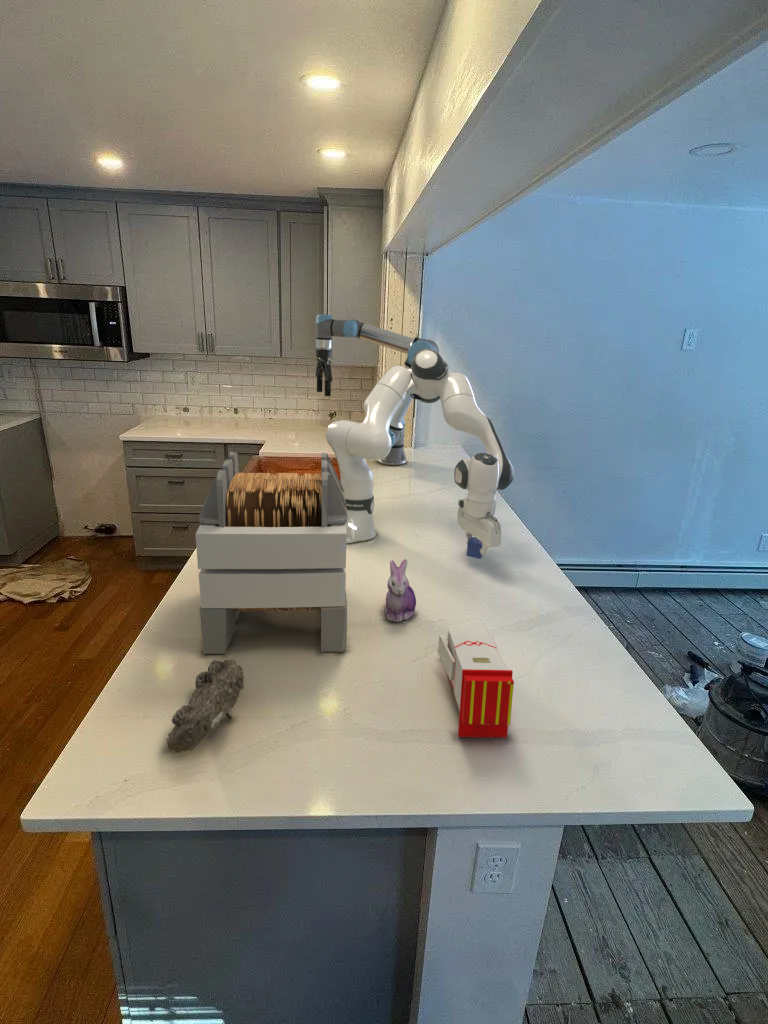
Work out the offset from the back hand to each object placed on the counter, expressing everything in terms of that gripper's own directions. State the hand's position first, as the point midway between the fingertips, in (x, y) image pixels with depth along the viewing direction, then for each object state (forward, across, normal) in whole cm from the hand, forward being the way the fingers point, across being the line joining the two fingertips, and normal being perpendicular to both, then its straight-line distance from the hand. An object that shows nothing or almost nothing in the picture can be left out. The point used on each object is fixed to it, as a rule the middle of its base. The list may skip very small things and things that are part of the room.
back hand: (323, 394), depth 277 cm
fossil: (+34, -176, +75) cm, 195 cm away
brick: (+31, -132, -10) cm, 136 cm away
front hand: (+29, -132, -10) cm, 135 cm away
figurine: (+34, -152, +25) cm, 158 cm away
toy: (+34, -186, +24) cm, 191 cm away
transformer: (+34, -144, +54) cm, 158 cm away
